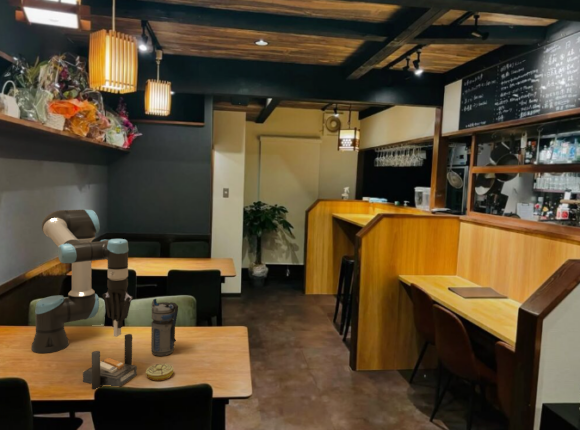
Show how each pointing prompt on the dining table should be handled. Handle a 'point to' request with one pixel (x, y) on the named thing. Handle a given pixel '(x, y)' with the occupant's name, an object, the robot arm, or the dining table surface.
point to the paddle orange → (113, 363)
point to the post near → (95, 369)
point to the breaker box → (112, 375)
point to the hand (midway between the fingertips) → (117, 335)
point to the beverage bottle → (163, 327)
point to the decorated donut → (159, 372)
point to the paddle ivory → (107, 367)
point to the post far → (128, 349)
